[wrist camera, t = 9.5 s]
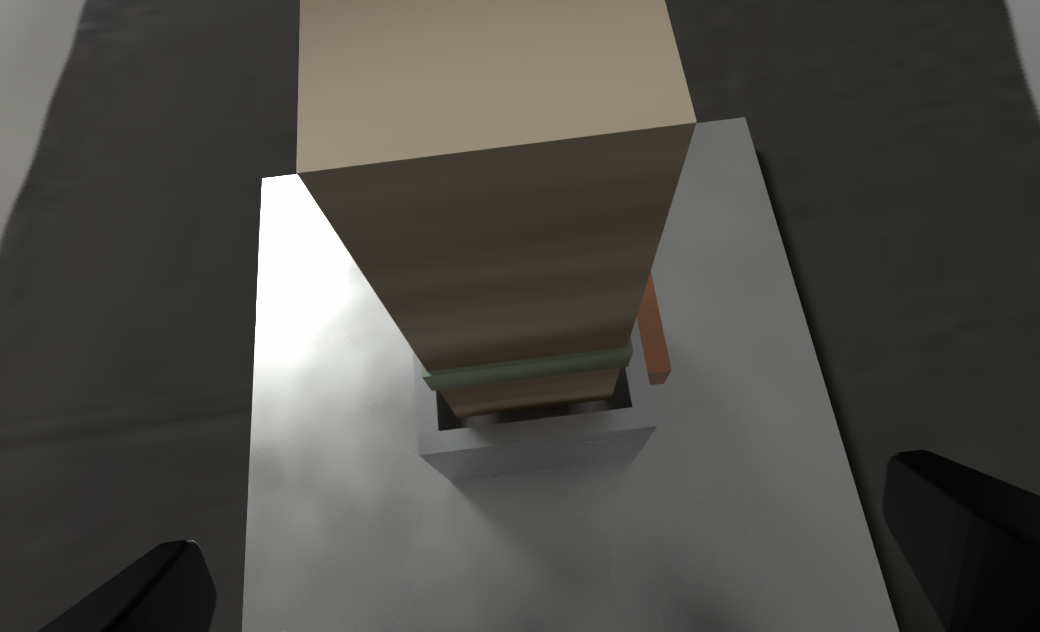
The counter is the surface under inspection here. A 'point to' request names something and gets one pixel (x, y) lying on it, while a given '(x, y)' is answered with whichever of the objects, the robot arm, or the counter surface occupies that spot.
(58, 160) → the counter surface
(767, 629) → the stand
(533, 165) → the post
